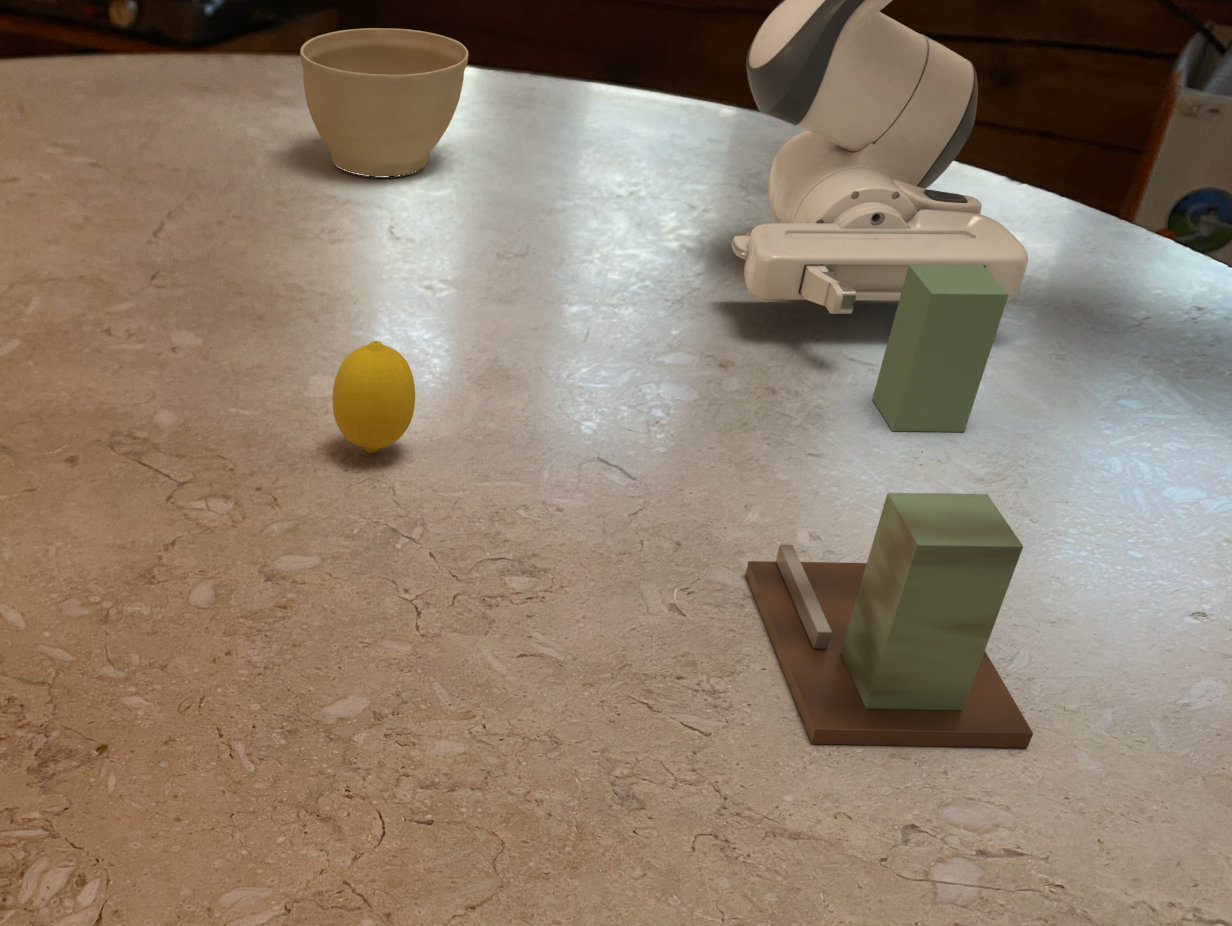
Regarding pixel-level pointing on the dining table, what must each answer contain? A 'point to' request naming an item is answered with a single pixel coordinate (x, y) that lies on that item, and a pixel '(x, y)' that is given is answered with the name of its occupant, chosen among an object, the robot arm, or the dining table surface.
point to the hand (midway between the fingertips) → (910, 304)
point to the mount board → (837, 689)
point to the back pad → (938, 347)
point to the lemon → (373, 396)
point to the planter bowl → (382, 95)
